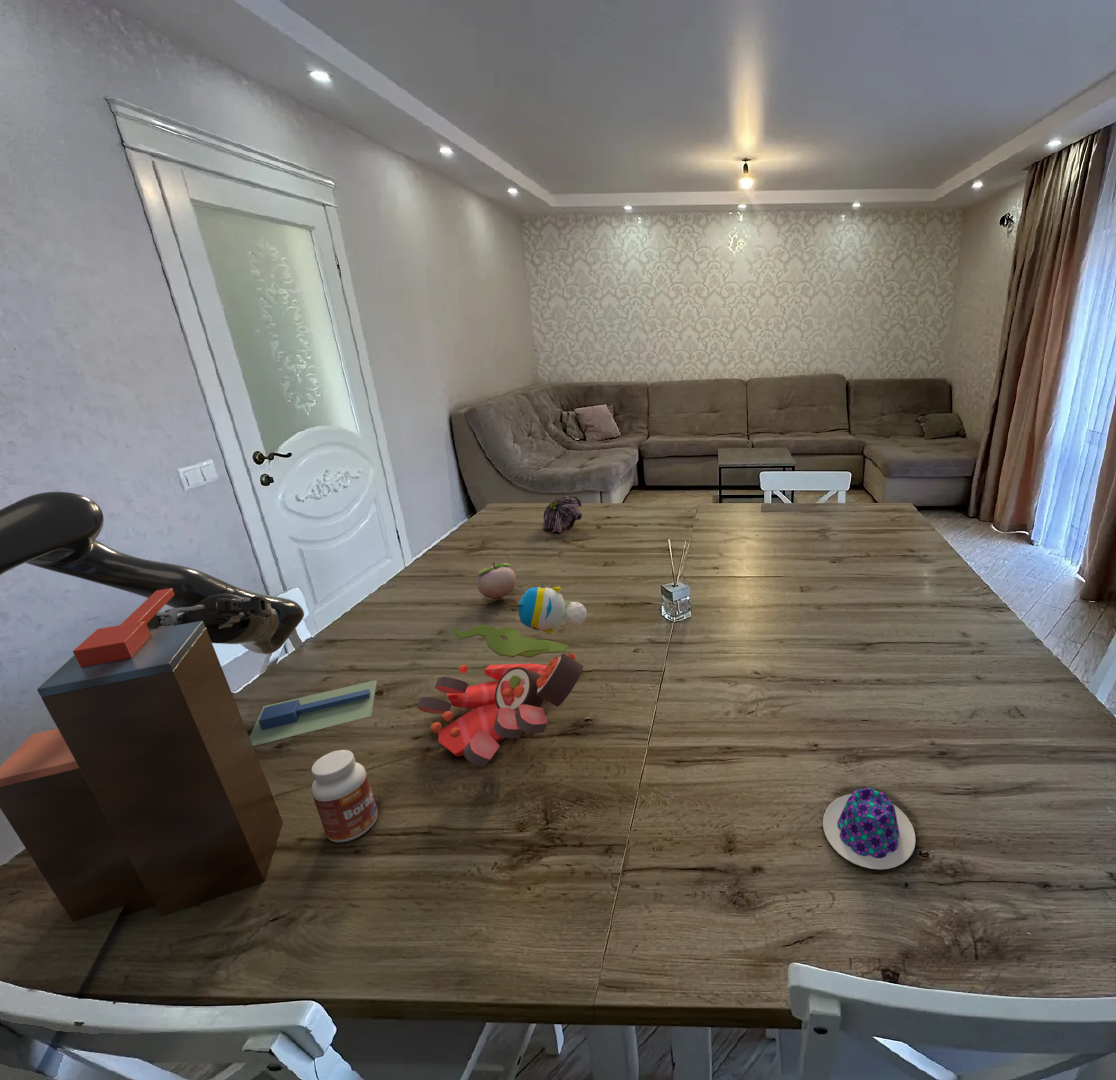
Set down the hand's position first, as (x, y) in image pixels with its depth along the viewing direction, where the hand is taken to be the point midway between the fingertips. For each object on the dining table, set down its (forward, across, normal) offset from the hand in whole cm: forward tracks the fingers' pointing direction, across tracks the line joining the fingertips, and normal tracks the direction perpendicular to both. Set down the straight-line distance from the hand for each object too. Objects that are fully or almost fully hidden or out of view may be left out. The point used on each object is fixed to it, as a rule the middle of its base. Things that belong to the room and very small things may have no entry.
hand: (180, 612), depth 74 cm
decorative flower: (-96, +64, -22) cm, 117 cm away
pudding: (+26, +78, +49) cm, 96 cm away
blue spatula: (-28, +7, +17) cm, 34 cm away
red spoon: (+10, 0, +3) cm, 10 cm away
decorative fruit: (-56, +40, +2) cm, 69 cm away
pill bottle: (-1, +15, +33) cm, 37 cm away
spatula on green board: (-28, +6, +18) cm, 34 cm away
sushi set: (-15, +38, +25) cm, 48 cm away
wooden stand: (-1, -3, +33) cm, 33 cm away
